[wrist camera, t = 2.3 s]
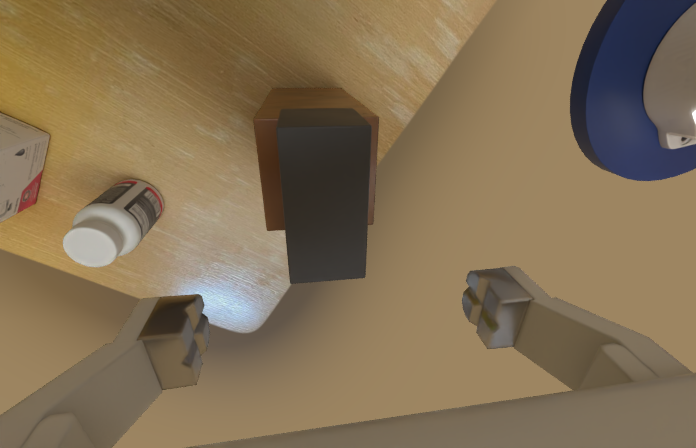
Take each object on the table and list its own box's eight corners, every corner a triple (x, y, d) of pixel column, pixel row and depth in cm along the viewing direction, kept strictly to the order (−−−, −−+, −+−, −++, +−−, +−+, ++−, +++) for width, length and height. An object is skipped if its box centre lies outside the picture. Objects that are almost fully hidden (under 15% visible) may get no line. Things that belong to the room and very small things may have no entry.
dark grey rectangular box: (353, 107, 18) (372, 125, 14) (351, 232, 22) (365, 278, 17) (280, 108, 18) (275, 127, 13) (291, 236, 21) (290, 284, 17)
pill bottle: (107, 213, 36) (48, 263, 27) (115, 170, 34) (55, 210, 25) (159, 229, 38) (119, 281, 29) (170, 189, 36) (131, 232, 27)
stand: (341, 87, 33) (379, 116, 19) (341, 154, 37) (373, 225, 22) (272, 88, 32) (253, 118, 18) (278, 156, 36) (266, 231, 21)
